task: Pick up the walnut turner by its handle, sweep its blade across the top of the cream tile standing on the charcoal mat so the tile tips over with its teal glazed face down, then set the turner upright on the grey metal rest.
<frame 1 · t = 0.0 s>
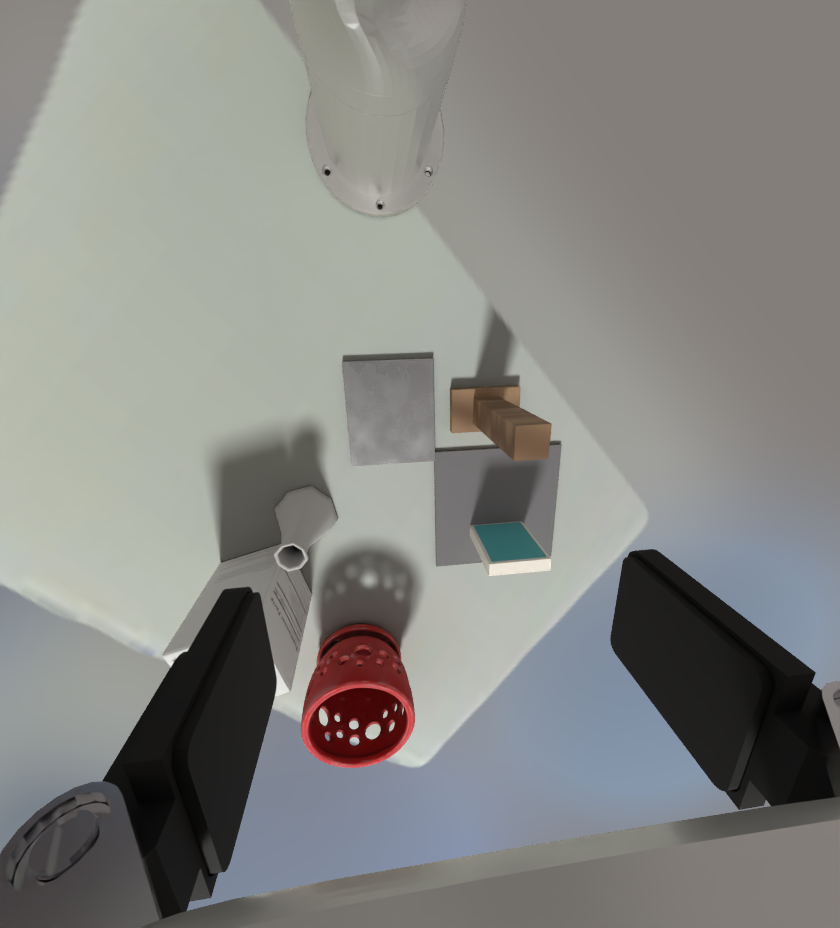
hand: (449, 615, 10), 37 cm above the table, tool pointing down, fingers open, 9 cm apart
turner: (483, 408, 46), on the table
flask: (307, 512, 48), on the table
mat: (495, 506, 51), on the table
supplement box: (268, 578, 51), on the table
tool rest: (390, 413, 45), on the table
tile: (495, 528, 51), resting on mat
plant pot: (361, 648, 56), on the table
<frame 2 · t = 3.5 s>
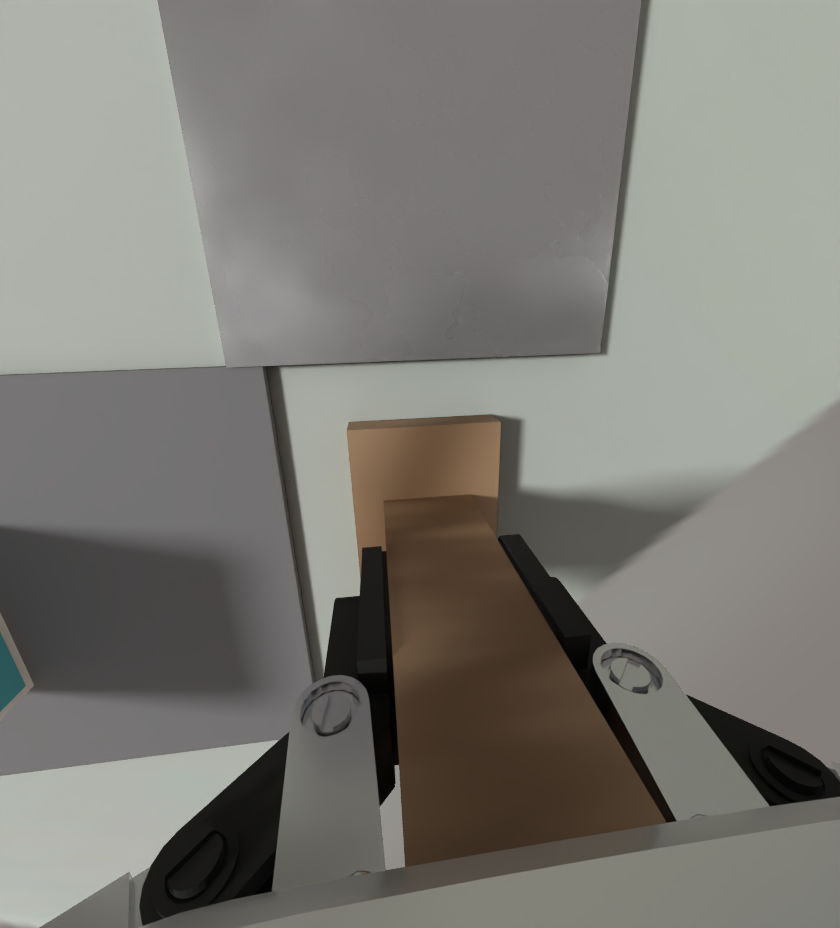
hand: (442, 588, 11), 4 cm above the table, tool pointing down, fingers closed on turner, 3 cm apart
turner: (424, 520, 15), on the table, touching gripper
mat: (76, 596, 14), on the table
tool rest: (414, 181, 11), on the table
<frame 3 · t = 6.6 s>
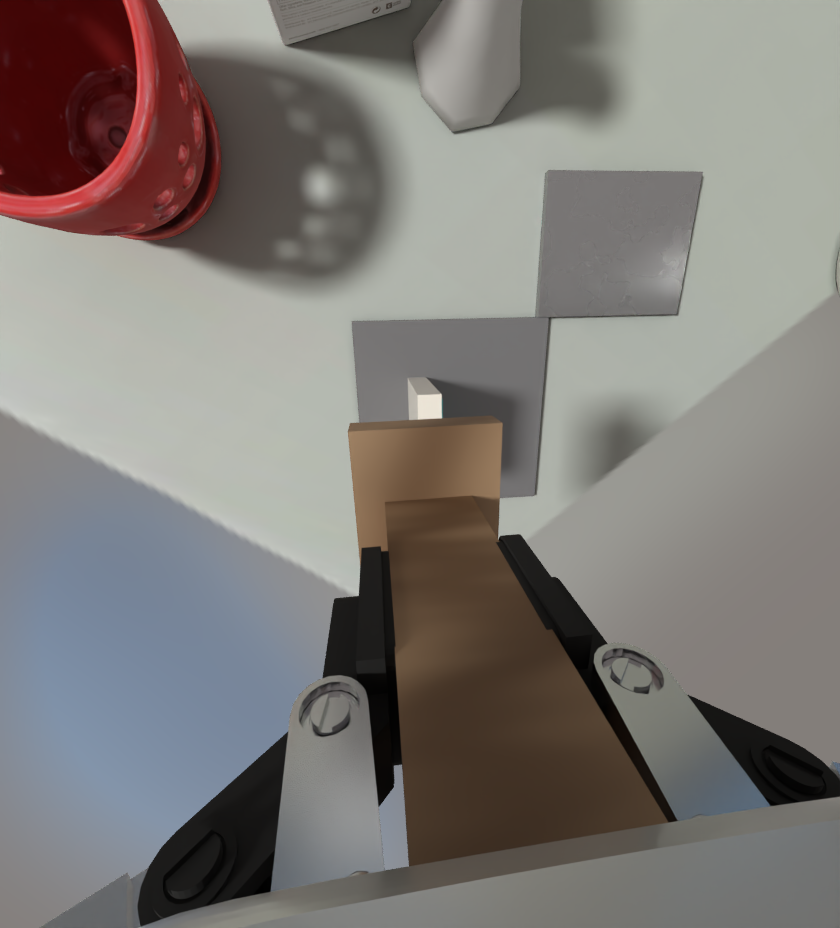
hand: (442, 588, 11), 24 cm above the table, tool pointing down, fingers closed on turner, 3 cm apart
turner: (425, 521, 15), point 20 cm above the table, touching gripper
flask: (466, 69, 27), on the table
mat: (451, 416, 34), on the table
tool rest: (612, 248, 31), on the table
tile: (417, 418, 34), resting on mat
plant pot: (146, 153, 26), on the table
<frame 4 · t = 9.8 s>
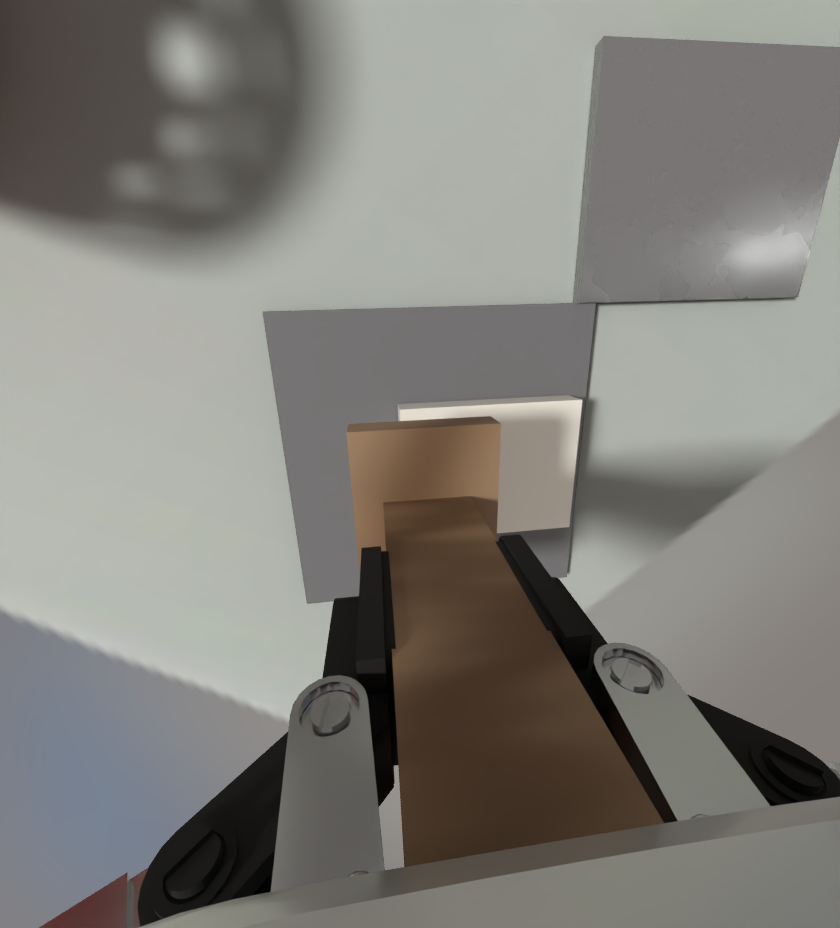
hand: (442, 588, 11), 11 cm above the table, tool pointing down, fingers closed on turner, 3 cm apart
turner: (424, 522, 15), point 7 cm above the table, touching gripper
mat: (438, 463, 21), on the table
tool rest: (702, 187, 19), on the table
tile: (401, 474, 20), point 1 cm above the table, tilted 90°, touching mat
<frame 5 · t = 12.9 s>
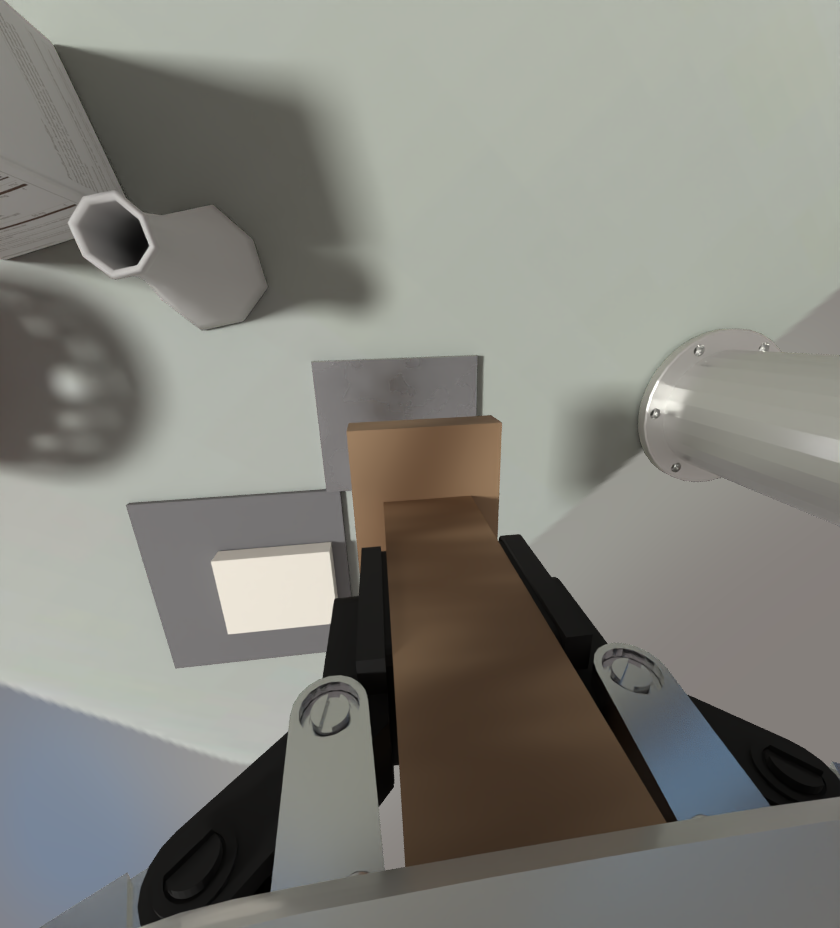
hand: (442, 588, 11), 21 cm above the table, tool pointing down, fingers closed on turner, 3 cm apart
turner: (424, 522, 15), point 16 cm above the table, touching gripper
flask: (210, 271, 26), on the table
mat: (254, 581, 33), on the table
supplement box: (29, 161, 23), on the table
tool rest: (398, 424, 30), on the table
tile: (223, 593, 32), point 1 cm above the table, tilted 90°, touching mat
when the fingers open (6 cm above the table, at t = 15.7 s): turner drops 1 cm, resting on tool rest.
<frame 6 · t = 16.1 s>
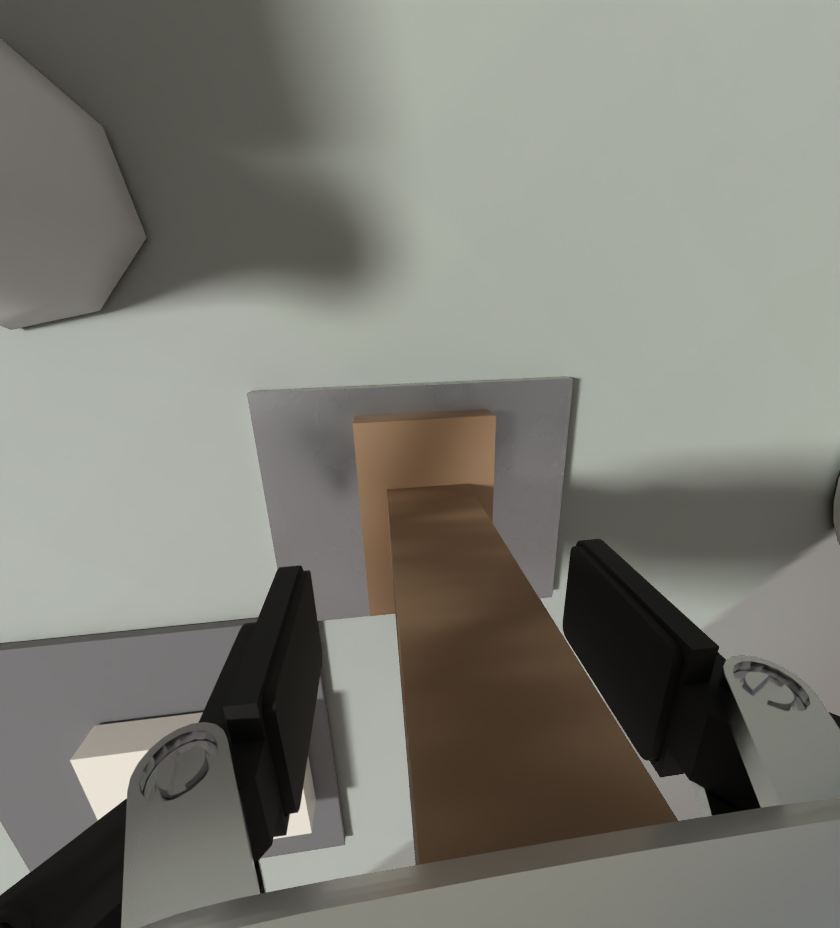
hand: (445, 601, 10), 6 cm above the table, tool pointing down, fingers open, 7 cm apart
turner: (424, 509, 16), point 1 cm above the table, touching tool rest
flask: (18, 201, 12), on the table
mat: (168, 760, 19), on the table
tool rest: (419, 503, 16), on the table
tile: (106, 796, 18), point 1 cm above the table, tilted 90°, touching mat
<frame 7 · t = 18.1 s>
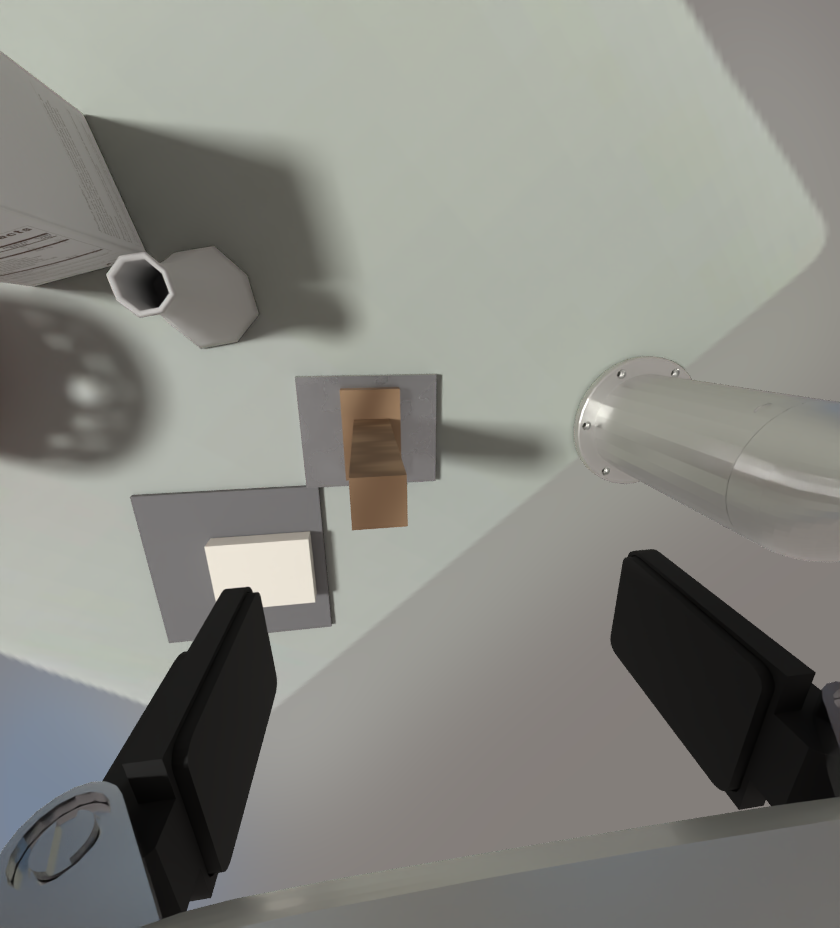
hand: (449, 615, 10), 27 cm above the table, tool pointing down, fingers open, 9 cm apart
turner: (371, 432, 35), point 1 cm above the table, touching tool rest
flask: (209, 299, 31), on the table
mat: (241, 565, 38), on the table
supplement box: (58, 206, 27), on the table
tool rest: (369, 430, 35), on the table
tile: (214, 575, 36), point 1 cm above the table, tilted 90°, touching mat
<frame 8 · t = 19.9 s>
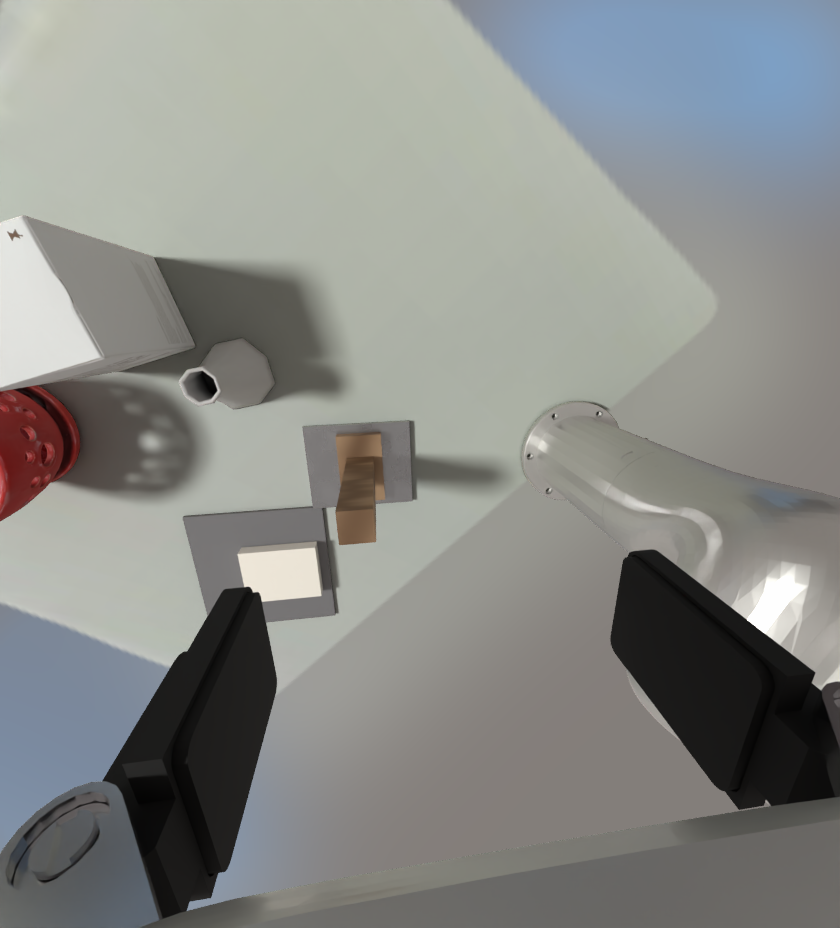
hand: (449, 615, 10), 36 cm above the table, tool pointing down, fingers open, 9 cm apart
turner: (361, 466, 46), point 1 cm above the table, touching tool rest
flask: (239, 374, 42), on the table
mat: (265, 567, 49), on the table
supplement box: (135, 316, 39), on the table
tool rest: (360, 464, 46), on the table
tile: (244, 575, 48), point 1 cm above the table, tilted 90°, touching mat
plant pot: (32, 431, 41), on the table
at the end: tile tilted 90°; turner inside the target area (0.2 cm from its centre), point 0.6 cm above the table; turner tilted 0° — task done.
